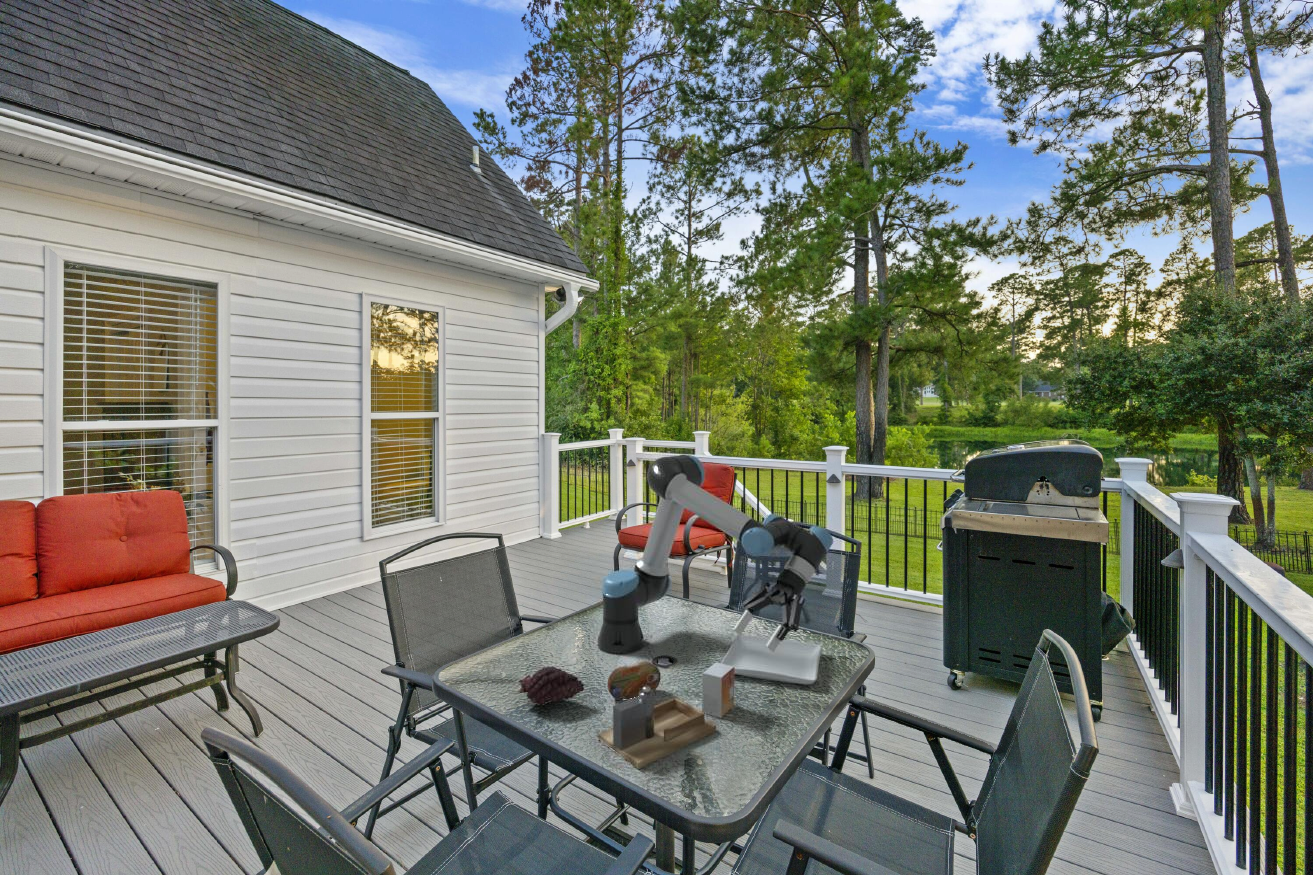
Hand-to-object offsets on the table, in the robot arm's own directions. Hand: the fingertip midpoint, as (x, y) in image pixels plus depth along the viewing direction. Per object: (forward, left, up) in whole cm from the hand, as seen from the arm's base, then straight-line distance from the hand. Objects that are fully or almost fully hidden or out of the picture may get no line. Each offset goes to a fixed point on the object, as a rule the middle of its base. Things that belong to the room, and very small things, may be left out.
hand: (752, 640), depth 159 cm
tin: (-22, -23, -16) cm, 36 cm away
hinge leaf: (-3, -37, -15) cm, 40 cm away
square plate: (-10, +21, -17) cm, 29 cm away
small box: (-2, -11, -16) cm, 20 cm away
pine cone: (-32, -43, -16) cm, 56 cm away
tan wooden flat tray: (-3, -31, -16) cm, 35 cm away
